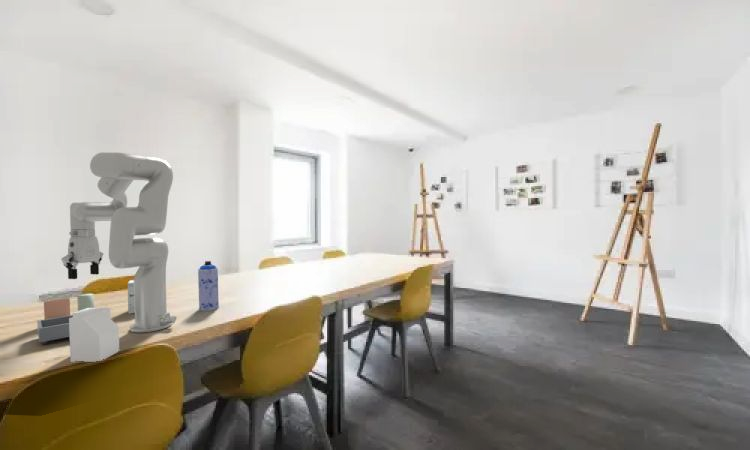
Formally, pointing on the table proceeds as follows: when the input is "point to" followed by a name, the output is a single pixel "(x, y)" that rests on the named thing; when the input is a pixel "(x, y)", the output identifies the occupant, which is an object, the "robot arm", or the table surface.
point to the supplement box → (131, 297)
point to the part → (85, 301)
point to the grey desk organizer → (54, 320)
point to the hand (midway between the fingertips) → (84, 276)
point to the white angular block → (93, 335)
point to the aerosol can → (208, 287)
